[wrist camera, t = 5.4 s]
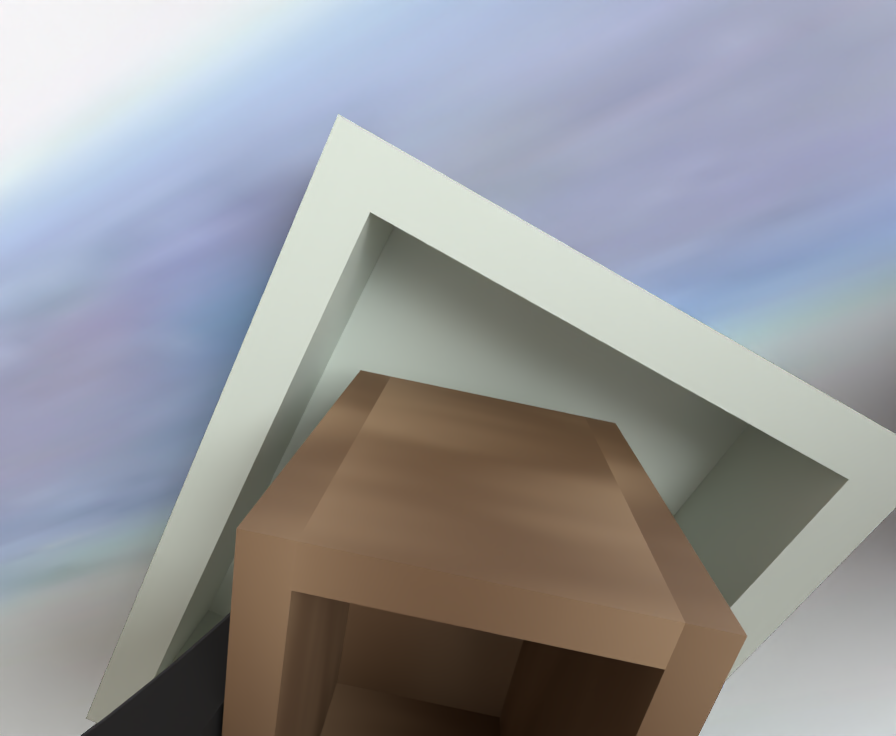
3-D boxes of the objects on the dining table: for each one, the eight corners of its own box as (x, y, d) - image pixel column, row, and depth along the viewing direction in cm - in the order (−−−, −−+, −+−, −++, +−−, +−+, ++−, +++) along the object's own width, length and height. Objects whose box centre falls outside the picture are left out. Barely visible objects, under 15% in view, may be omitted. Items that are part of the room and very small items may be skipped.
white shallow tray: (808, 389, 11) (941, 460, 8) (501, 755, 15) (506, 904, 12) (384, 146, 10) (338, 114, 7) (177, 603, 15) (85, 718, 11)
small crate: (615, 422, 9) (747, 636, 5) (517, 720, 12) (539, 1056, 7) (360, 370, 10) (236, 527, 5) (315, 677, 12) (204, 983, 7)
